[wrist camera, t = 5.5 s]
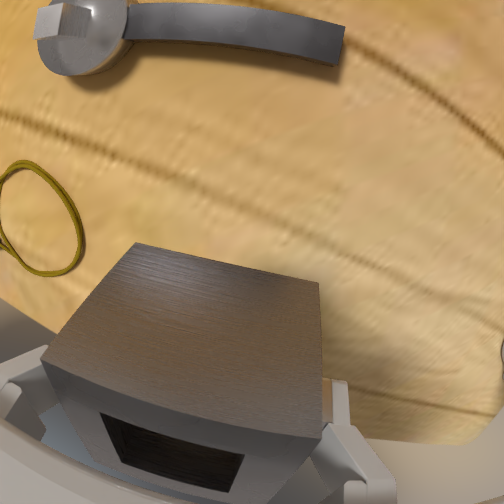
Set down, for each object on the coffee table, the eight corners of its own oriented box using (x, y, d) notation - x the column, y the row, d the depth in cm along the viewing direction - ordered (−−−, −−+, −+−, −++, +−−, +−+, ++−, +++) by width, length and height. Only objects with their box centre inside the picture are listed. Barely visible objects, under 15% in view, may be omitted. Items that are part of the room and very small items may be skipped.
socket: (318, 282, 9) (322, 438, 5) (276, 393, 12) (261, 508, 8) (135, 242, 9) (39, 358, 5) (142, 360, 12) (94, 461, 8)
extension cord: (-21, 133, 20) (-35, 138, 19) (98, 189, 22) (84, 198, 21) (-24, 234, 26) (-35, 243, 24) (79, 298, 28) (69, 311, 27)
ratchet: (345, 1, 14) (366, -26, 9) (324, 101, 18) (339, 106, 13) (67, -8, 14) (19, -19, 9) (53, 76, 18) (2, 82, 13)
